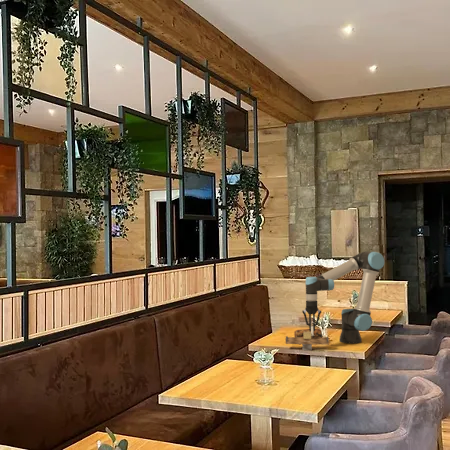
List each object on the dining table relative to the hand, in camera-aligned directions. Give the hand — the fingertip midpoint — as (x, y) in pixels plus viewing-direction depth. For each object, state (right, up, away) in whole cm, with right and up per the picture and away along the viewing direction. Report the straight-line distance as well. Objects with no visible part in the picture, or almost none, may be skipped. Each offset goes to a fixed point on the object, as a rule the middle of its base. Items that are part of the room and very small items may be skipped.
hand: (312, 335), depth 365 cm
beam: (-3, -9, +1) cm, 10 cm away
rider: (-3, -3, 0) cm, 4 cm away
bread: (0, -9, +20) cm, 22 cm away
